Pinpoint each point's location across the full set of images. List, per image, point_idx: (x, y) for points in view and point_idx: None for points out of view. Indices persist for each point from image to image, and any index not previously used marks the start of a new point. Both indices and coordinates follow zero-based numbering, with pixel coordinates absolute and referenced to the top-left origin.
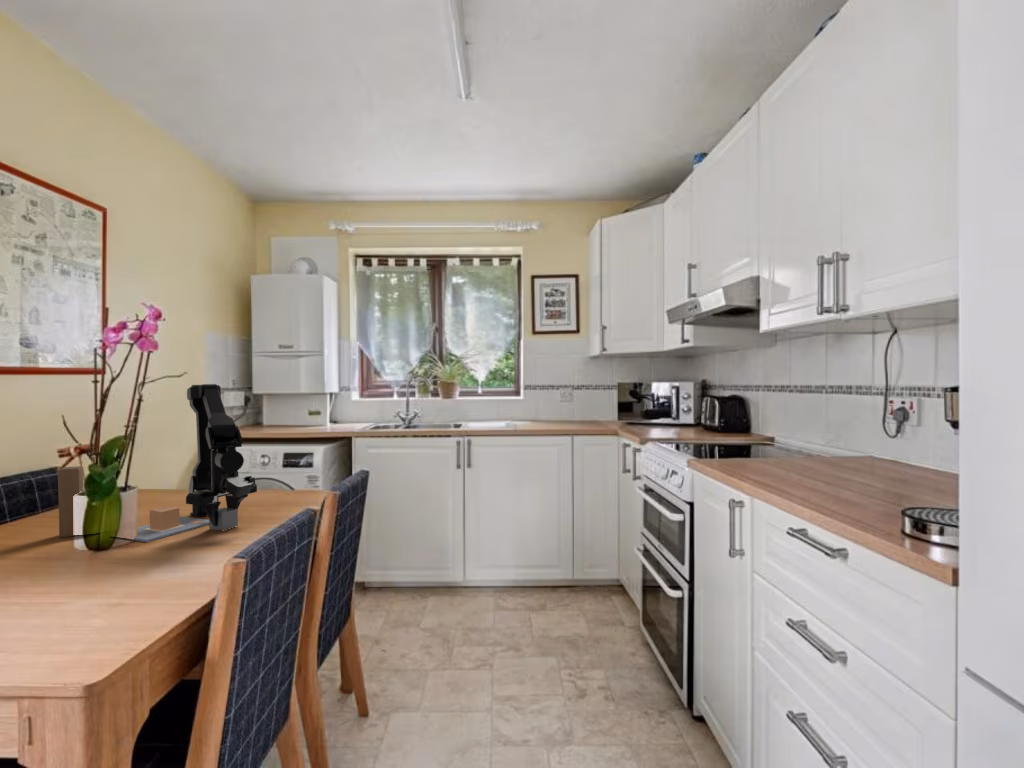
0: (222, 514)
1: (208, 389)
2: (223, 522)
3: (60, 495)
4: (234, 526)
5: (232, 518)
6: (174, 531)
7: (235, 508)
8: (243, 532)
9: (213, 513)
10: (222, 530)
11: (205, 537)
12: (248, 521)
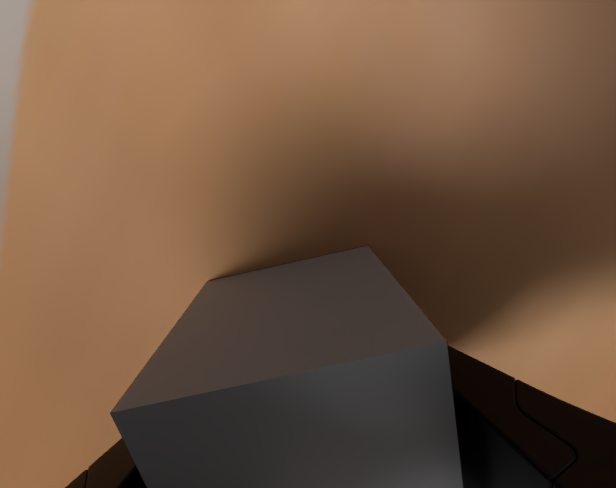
0: (433, 325)
1: None
2: (378, 276)
3: None
4: (241, 276)
5: (250, 311)
6: None
7: (119, 478)
8: (274, 24)
9: (555, 411)
10: (369, 249)
11: (559, 181)
12: (66, 367)
